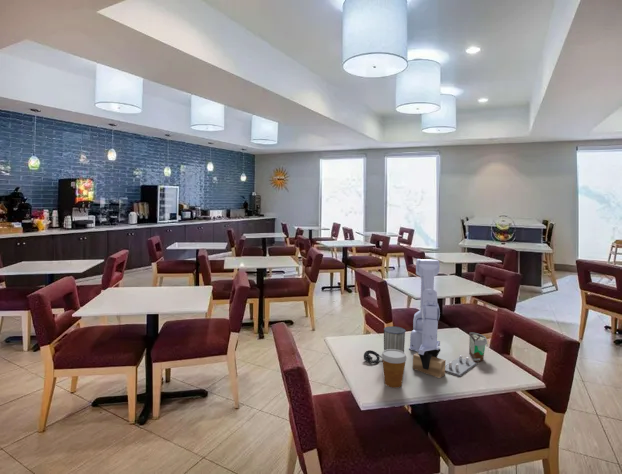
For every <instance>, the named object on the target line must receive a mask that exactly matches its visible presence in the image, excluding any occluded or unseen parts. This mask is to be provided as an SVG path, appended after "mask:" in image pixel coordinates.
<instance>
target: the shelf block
mask: <svg viewBox="0 0 622 474" xmlns="http://www.w3.org/2000/svg"><path fill="white" fill-rule="evenodd" d="M445 366H446V360H445V359H442V358H439V357H437V358H436V357H433V356H432V357H431V359H430V364H429V369H428V370H426V369H423V366H422V362H421V358H420V356H419V354H418V352H416V353H414V354H412V370H416V371H418V372H421V373H424V374H427V375H429V376H433V377H435V378H438V379H440V378H443V377H444V376H446V372H445Z"/></svg>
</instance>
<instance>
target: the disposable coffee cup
mask: <svg viewBox="0 0 622 474" xmlns="http://www.w3.org/2000/svg"><path fill="white" fill-rule="evenodd" d="M380 356H381V357H382V358H381V357H380V358H381V359H382V366H383V367H382V368H383V369H382V371H383V377H384V384H385V385H386V386H387V387H388V388H391V389H392V388H395V389H396V388H401V387H402V385H403V378H404V372H405V368H406V367H405V366H406V362H407V359H408V358H407V353H406V352H405V351H404V352H403V351H400V350H396V349H387V350H384V349H383V351H382V353H381V355H380Z"/></svg>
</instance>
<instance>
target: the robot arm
mask: <svg viewBox="0 0 622 474" xmlns="http://www.w3.org/2000/svg"><path fill="white" fill-rule="evenodd" d="M440 265H441V264H440V260H439V259H425V258H424V259H423V258H422V259H421V258H417V259H416V261H415V274H416V275H417V276H419V278H420V305H419V306H420V307H419V310H418V311H416V312H415V313H414V315H413V321H412V322H413V323H412V324H413V325H412V326H413V327H412V329H413V330H411V333H410V337H409V338H410V339H409V348H408V349H409V350H411V351H414V352H416V353H418V354H419V356H420V358H421V362H422V366H423V369H426V370H428V369H429V364H430V359H431V357H432V356H433V357H436V358H438V355H439V354H440V353H441V348H440V346H441V341H439V340H438V329H439V328H438V327H439V325H438V324H439V321H440V316H441V315H440V314H441V312H440V311H441V310H440V306H439V303H438V293H437V291H436V290H435V289H434V287H435V277H436V276H438V275H439V272H440Z"/></svg>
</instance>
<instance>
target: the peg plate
mask: <svg viewBox="0 0 622 474" xmlns="http://www.w3.org/2000/svg"><path fill="white" fill-rule="evenodd" d="M477 363H478V362H473V360H470V358H469V356H465V358H463V355H461V354H460V355H459V357H457V358H455V359H454V360H452V361H449V362H448V363H447V364H445V374H451V375H453V376H456V377H458V378H459V377H461V376H463V375H464V374H466V373H467V372H468V371H469V370H471V369H472V368H474V367H475V366H476V365H477Z"/></svg>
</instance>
